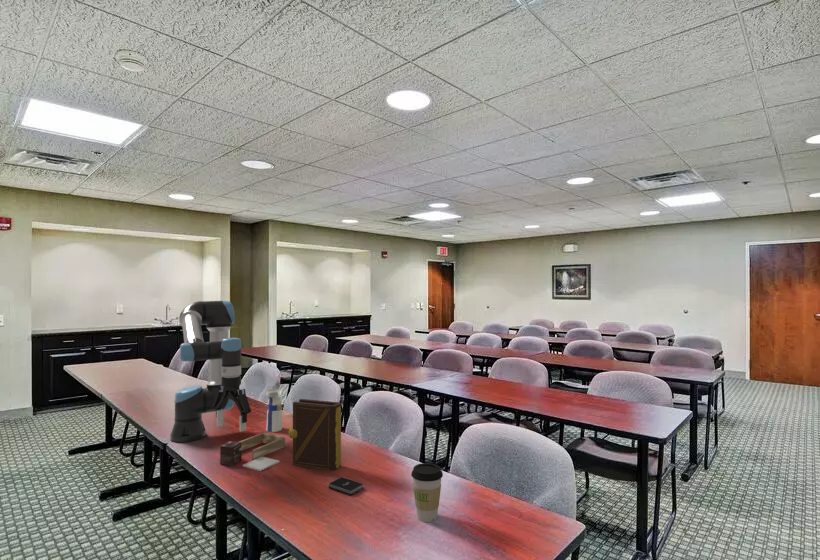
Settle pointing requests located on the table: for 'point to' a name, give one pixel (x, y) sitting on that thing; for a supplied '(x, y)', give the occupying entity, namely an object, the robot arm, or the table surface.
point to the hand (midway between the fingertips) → (231, 428)
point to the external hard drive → (346, 486)
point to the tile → (261, 463)
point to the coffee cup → (427, 490)
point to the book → (316, 434)
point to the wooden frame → (271, 446)
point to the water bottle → (274, 409)
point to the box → (230, 453)
